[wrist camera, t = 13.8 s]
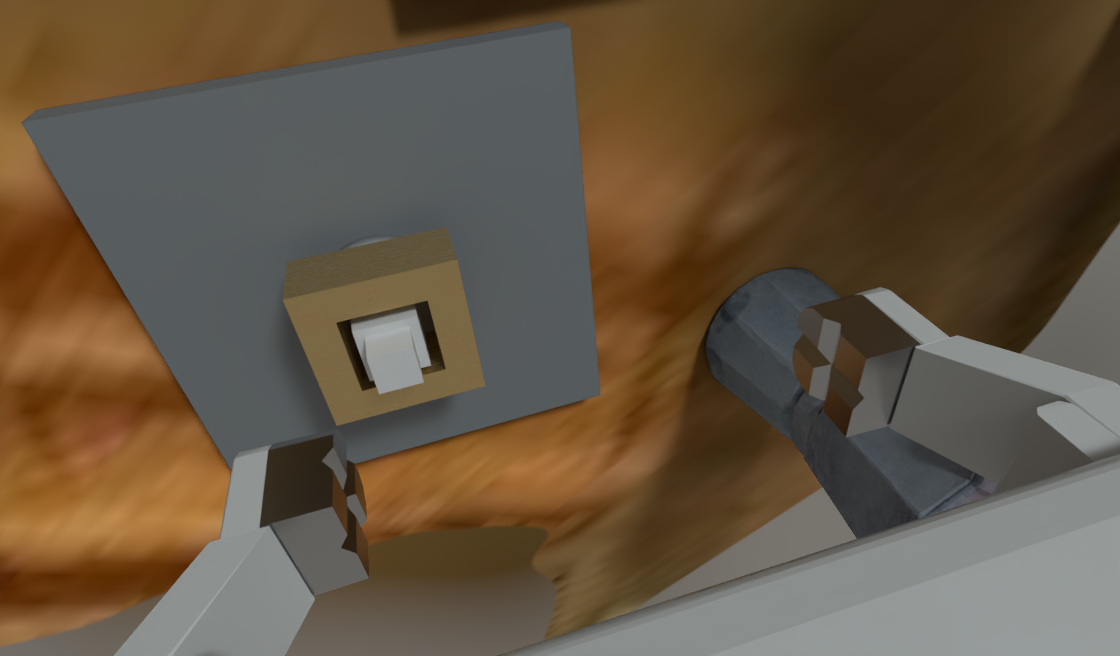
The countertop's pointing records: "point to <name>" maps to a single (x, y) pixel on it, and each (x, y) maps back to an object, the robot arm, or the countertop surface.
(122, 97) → the plate
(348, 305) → the tan square frame
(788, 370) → the moka pot
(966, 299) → the countertop surface
